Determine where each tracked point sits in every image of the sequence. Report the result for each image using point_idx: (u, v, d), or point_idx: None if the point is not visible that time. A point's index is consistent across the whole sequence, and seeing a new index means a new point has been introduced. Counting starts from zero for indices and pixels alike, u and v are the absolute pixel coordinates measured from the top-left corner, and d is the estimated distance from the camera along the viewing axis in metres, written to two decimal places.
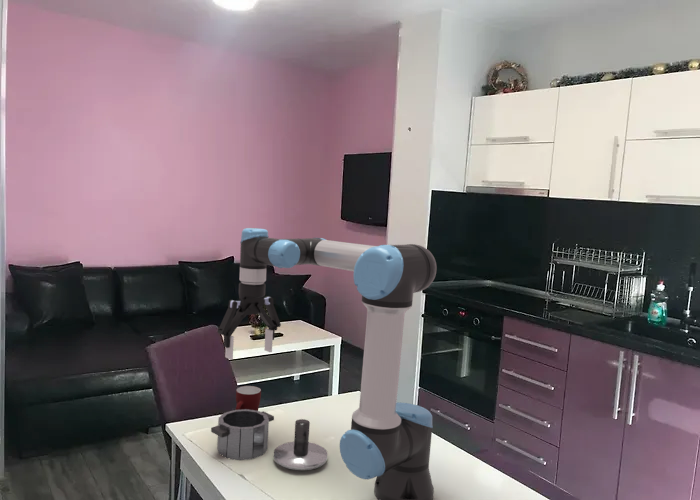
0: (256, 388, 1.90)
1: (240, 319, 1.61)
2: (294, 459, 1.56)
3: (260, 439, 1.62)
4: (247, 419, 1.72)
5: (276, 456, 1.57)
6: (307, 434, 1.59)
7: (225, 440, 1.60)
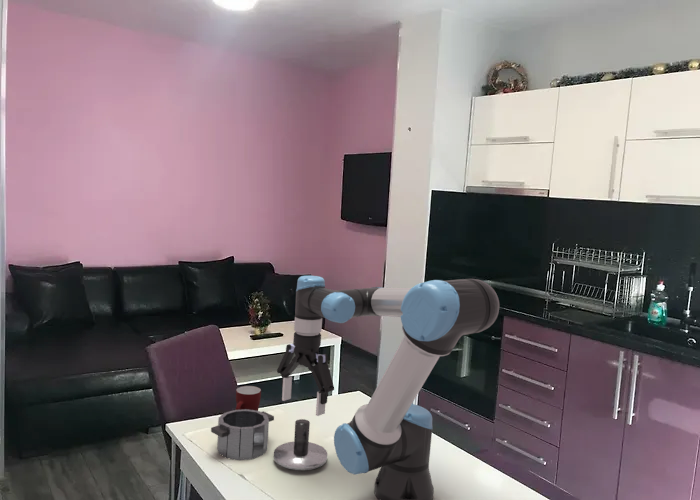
0: (256, 388, 1.90)
1: (291, 364, 1.60)
2: (294, 459, 1.56)
3: (260, 439, 1.62)
4: (247, 419, 1.72)
5: (276, 456, 1.57)
6: (307, 434, 1.59)
7: (225, 440, 1.60)
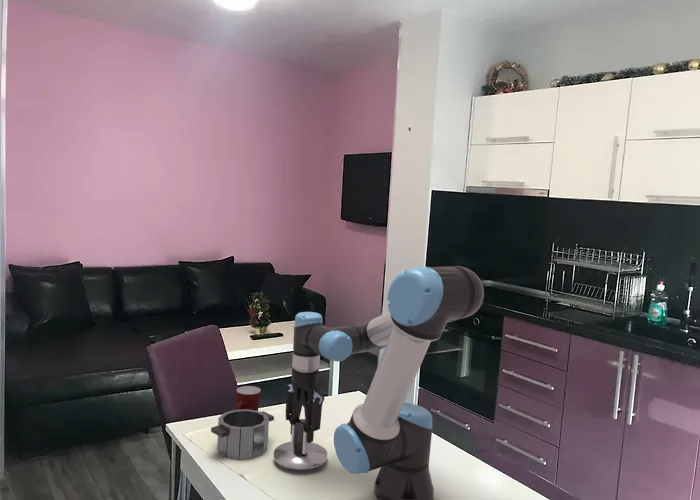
0: (256, 388, 1.90)
1: (294, 406, 1.60)
2: (294, 459, 1.56)
3: (260, 439, 1.62)
4: (247, 419, 1.72)
5: (276, 456, 1.57)
6: None
7: (225, 440, 1.60)
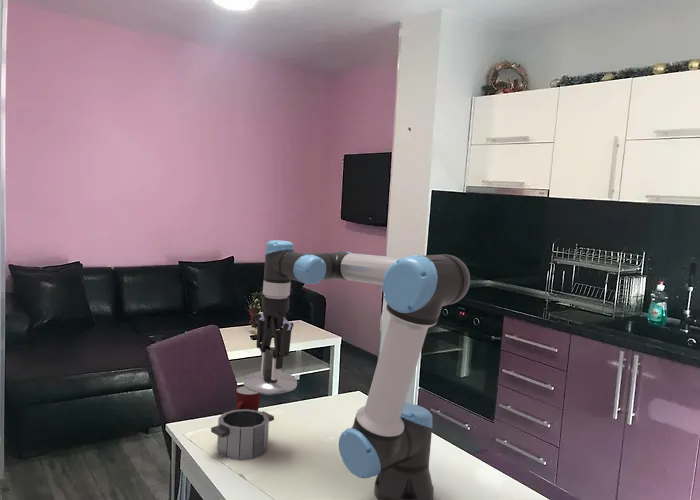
0: None
1: (265, 333, 1.61)
2: (263, 384, 1.59)
3: (260, 439, 1.62)
4: (247, 419, 1.72)
5: (245, 381, 1.60)
6: None
7: (225, 440, 1.60)
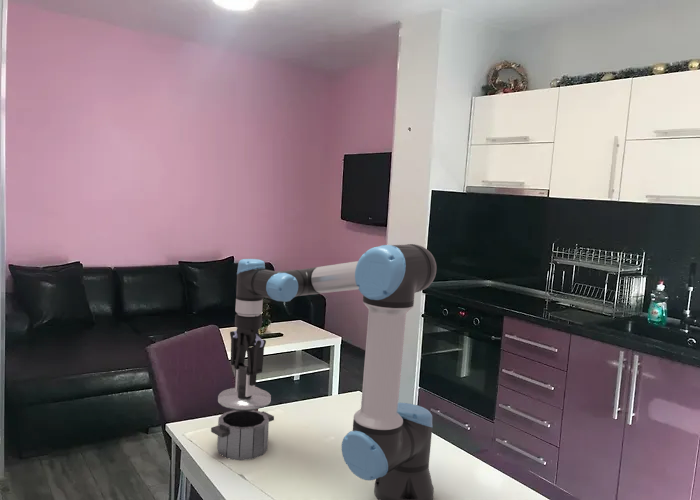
0: None
1: (238, 350, 1.64)
2: (237, 400, 1.61)
3: (260, 439, 1.62)
4: (247, 419, 1.72)
5: (220, 398, 1.62)
6: None
7: (225, 440, 1.60)
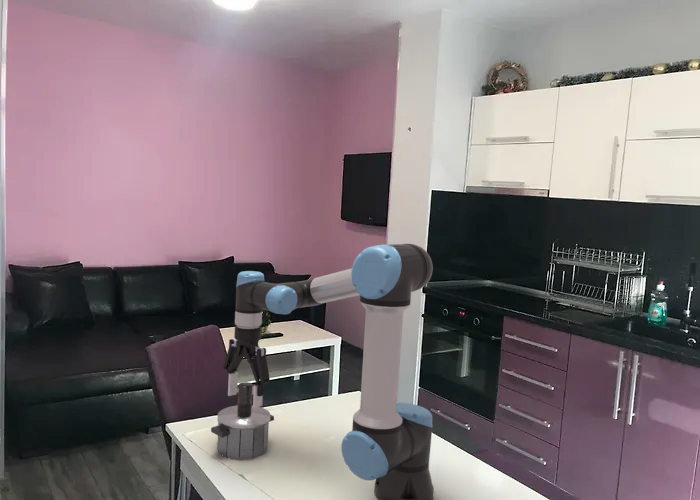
0: None
1: (234, 359, 1.65)
2: (237, 419, 1.62)
3: (260, 439, 1.62)
4: None
5: (219, 417, 1.62)
6: (250, 396, 1.64)
7: (225, 440, 1.60)
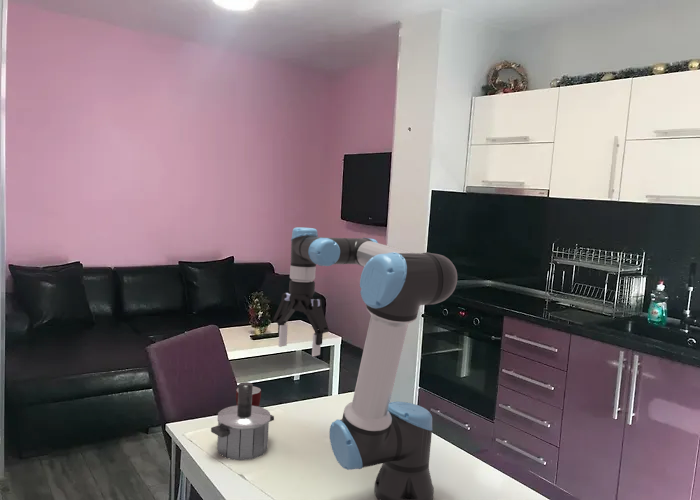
0: (256, 388, 1.90)
1: (287, 311, 1.71)
2: (237, 419, 1.62)
3: (260, 439, 1.62)
4: None
5: (219, 417, 1.62)
6: (250, 396, 1.64)
7: (225, 440, 1.60)
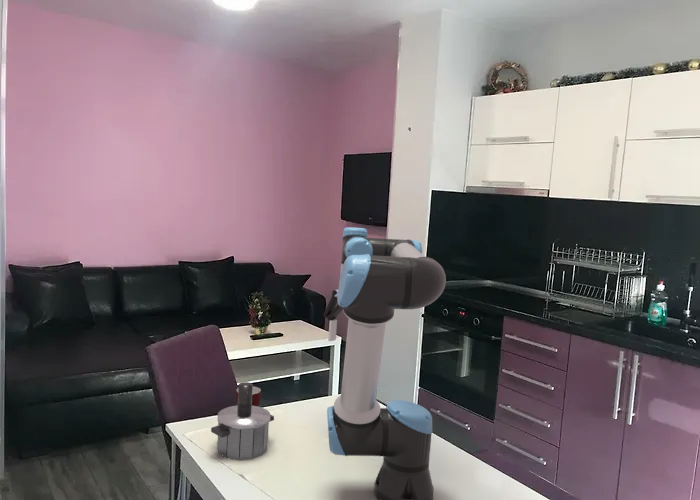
0: (256, 388, 1.90)
1: (337, 308, 1.79)
2: (237, 419, 1.62)
3: (260, 439, 1.62)
4: None
5: (219, 417, 1.62)
6: (250, 396, 1.64)
7: (225, 440, 1.60)
